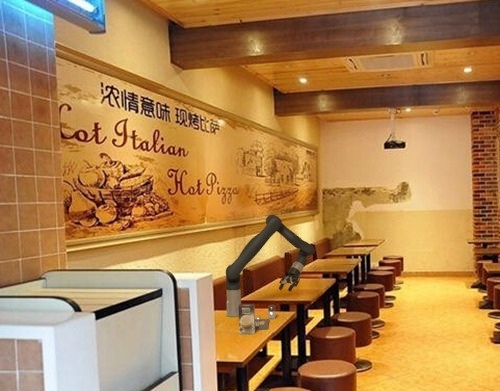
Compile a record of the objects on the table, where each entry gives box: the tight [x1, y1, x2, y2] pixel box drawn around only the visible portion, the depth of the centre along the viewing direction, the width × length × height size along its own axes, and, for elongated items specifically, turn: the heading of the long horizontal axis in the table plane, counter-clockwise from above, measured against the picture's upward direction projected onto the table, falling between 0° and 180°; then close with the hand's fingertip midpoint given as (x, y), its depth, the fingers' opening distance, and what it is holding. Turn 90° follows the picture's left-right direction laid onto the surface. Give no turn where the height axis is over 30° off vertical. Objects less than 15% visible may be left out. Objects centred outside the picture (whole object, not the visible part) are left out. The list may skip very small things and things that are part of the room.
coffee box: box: [238, 303, 256, 335], centre depth 333 cm, size 9×6×16 cm
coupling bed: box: [255, 315, 270, 331], centre depth 352 cm, size 13×24×3 cm, turn 176°
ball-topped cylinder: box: [267, 304, 276, 320], centre depth 368 cm, size 4×4×8 cm
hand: (284, 290), depth 376 cm, fingers open, 8 cm apart
